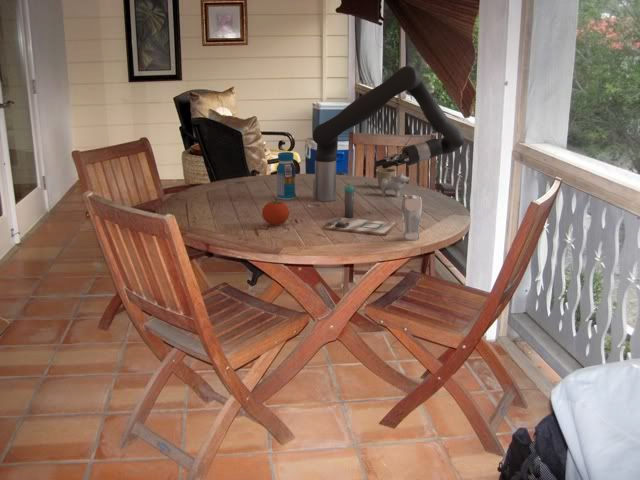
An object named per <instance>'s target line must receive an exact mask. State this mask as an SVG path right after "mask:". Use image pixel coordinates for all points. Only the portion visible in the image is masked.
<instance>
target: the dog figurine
mask: <svg viewBox="0 0 640 480" xmlns="http://www.w3.org/2000/svg"><path fill="white" fill-rule="evenodd" d="M409 180H410V177H409V176H406V175H404V172H400V173H399V174H398V175H397V176H396V175H395V174H394V175H393V176H391V180H387V179H382V180H381V184H380V186H381V188H382V189H380V191H381V197H386V195H387V192H386V191H391V190H393V191H394V192H395V195H396V196H395V197H396V198H400V196H401V192H400V191H401V190H403V189H404V187H405V184H406V183H408V182H409Z"/></svg>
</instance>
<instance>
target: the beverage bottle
mask: <svg viewBox="0 0 640 480" xmlns="http://www.w3.org/2000/svg"><path fill="white" fill-rule="evenodd" d="M277 160H278V162H279V163H278V164H277V166H276V171H277V172H276V175H275V176H276V180H277V181H276V183H277V184H276V188H277V189H276V190H277V199H279V200H281V199H282V201H287V200H288V201H290V200H294V199H295V198H296V196H297V195H296V177H297V176H296V171H295V170H296V166H295V164H294V162H293V161H294V152H288V151H282V152H279V153H278V154H277Z"/></svg>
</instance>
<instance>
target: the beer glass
mask: <svg viewBox="0 0 640 480" xmlns="http://www.w3.org/2000/svg"><path fill="white" fill-rule="evenodd" d="M422 199H423V198H422V196H421V195H419V194H405V195H403V196H402V202H401V218H402V224H403V225H402V227H403V231H402V236H401V238H402V239H403V240H405V241H410V240H413V241H418V240H420V233H419V231H420V230H419V229H420V223H421V222H420V221H421V218H422V210H423V200H422Z"/></svg>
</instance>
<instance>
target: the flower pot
mask: <svg viewBox="0 0 640 480" xmlns="http://www.w3.org/2000/svg"><path fill="white" fill-rule="evenodd" d="M396 171H397V170H396V169H395V168H390V167H388V168H385V169H383V168H377V169H375V172H376V174H377V183H378V188H379V189H380V190H381V189H382V188H381V186H380V184H381V180H382V179H387V180H391V176H393V175H394V176H395V174H396Z"/></svg>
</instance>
